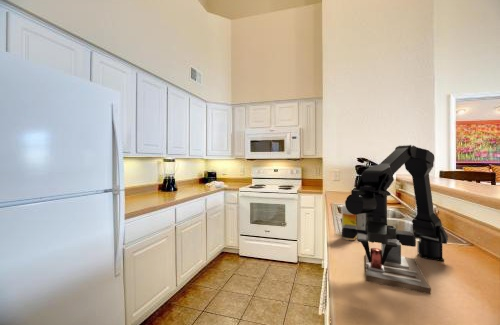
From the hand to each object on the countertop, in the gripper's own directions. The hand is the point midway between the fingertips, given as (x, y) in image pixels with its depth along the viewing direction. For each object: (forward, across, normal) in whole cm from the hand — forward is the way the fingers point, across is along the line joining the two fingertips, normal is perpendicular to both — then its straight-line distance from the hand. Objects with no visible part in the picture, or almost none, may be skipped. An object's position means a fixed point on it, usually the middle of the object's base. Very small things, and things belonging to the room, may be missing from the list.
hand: (376, 263), depth 68 cm
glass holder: (+5, -5, +47) cm, 47 cm away
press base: (+4, +5, +7) cm, 10 cm away
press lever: (+3, 0, 0) cm, 3 cm away
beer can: (+5, -9, +35) cm, 36 cm away
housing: (+2, +5, +12) cm, 13 cm away
